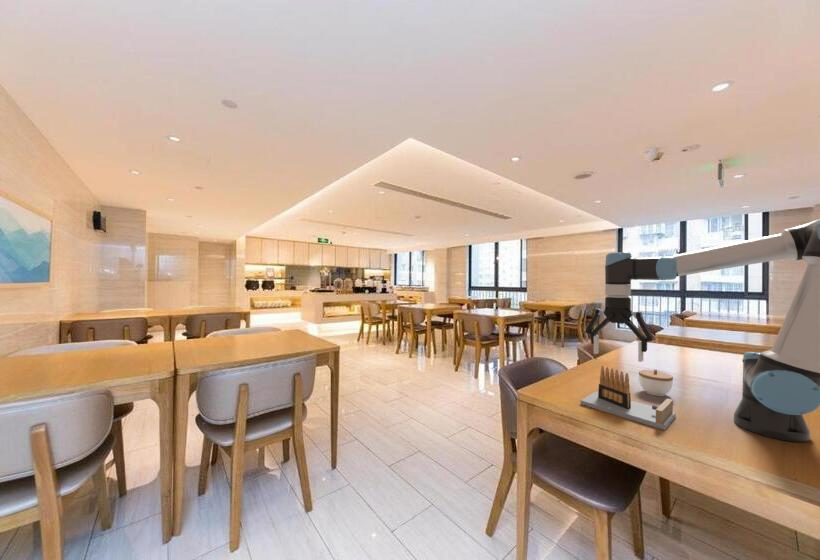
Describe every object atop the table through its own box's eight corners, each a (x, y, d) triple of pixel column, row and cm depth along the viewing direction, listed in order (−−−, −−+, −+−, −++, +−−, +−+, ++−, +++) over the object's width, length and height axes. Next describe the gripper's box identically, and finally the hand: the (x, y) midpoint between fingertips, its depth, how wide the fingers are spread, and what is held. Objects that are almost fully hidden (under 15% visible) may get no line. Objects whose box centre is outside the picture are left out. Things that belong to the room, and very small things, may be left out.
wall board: (675, 417, 103) (675, 400, 103) (664, 430, 94) (665, 412, 94) (595, 395, 121) (595, 381, 121) (580, 404, 112) (580, 389, 112)
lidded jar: (660, 389, 129) (660, 366, 128) (680, 399, 118) (680, 374, 118) (632, 387, 130) (632, 365, 129) (649, 398, 119) (650, 373, 119)
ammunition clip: (630, 408, 106) (631, 373, 105) (627, 409, 105) (627, 373, 105) (601, 396, 116) (602, 364, 115) (597, 397, 115) (598, 365, 115)
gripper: (665, 298, 102) (665, 362, 102) (584, 294, 121) (584, 349, 121) (659, 298, 97) (659, 366, 97) (575, 295, 117) (575, 352, 117)
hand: (617, 357), depth 109 cm, fingers open, 13 cm apart
